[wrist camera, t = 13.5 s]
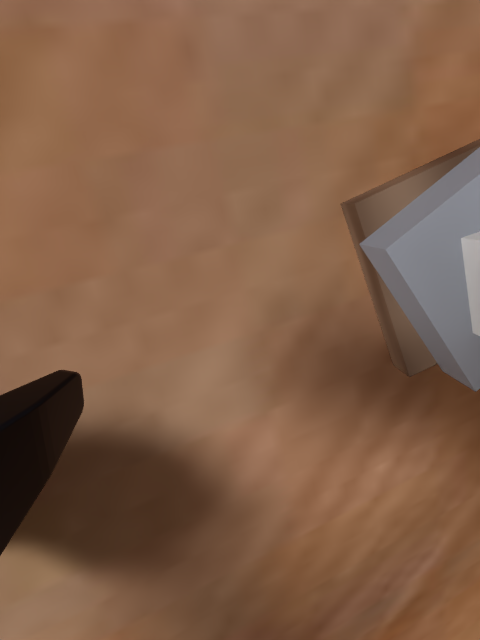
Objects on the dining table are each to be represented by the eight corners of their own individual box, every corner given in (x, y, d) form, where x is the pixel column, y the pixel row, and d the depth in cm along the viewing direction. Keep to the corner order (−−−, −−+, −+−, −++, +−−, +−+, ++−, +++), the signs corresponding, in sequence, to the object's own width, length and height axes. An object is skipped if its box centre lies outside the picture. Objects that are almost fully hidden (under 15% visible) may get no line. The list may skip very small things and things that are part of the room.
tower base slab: (386, 359, 23) (409, 377, 21) (334, 204, 20) (354, 203, 18) (531, 290, 24) (571, 300, 21) (502, 125, 20) (544, 114, 18)
